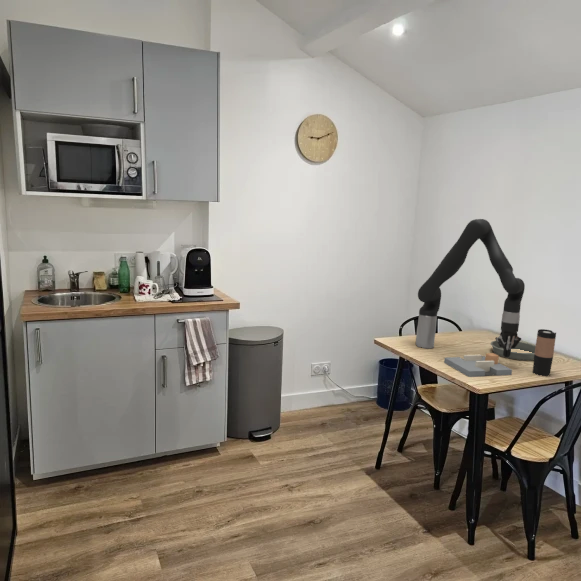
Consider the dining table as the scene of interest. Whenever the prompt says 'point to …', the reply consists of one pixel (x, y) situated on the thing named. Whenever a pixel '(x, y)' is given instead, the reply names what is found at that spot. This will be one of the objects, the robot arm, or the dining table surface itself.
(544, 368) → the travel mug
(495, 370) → the tunnel deck
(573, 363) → the dining table surface
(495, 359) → the block
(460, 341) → the dining table surface
